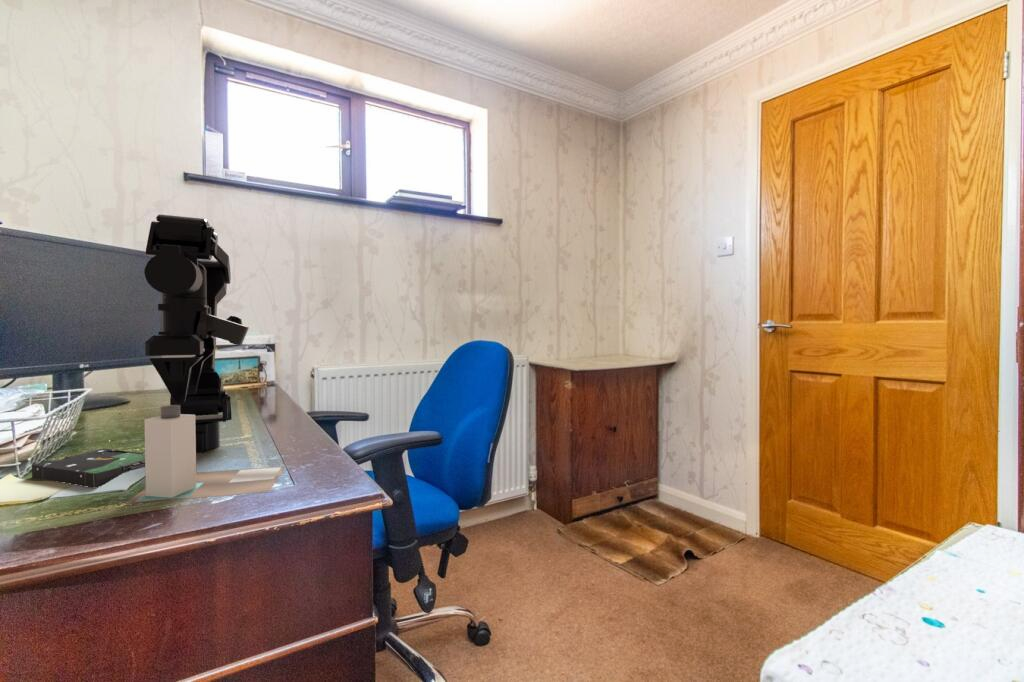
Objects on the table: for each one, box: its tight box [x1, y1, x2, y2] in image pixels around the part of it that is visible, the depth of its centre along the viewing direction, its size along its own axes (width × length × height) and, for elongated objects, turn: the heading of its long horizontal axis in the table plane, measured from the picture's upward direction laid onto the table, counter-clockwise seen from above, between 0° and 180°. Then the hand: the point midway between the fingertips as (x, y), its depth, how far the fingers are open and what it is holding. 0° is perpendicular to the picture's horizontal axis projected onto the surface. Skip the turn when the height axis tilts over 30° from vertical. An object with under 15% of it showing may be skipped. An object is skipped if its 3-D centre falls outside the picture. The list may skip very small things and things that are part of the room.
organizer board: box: [124, 465, 286, 505], centre depth 67 cm, size 12×17×1 cm
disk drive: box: [31, 448, 145, 488], centre depth 75 cm, size 10×3×15 cm
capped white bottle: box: [144, 404, 197, 498], centre depth 63 cm, size 4×4×12 cm
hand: (186, 398), depth 71 cm, fingers open, 9 cm apart
